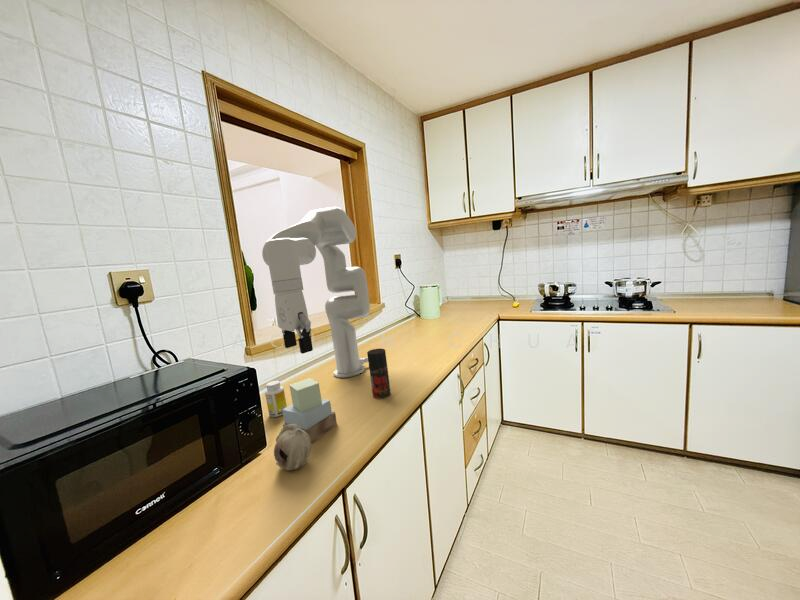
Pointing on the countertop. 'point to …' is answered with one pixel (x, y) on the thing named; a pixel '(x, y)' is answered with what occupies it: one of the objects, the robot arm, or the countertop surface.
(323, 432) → the walnut block
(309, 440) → the garlic bulb
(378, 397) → the deodorant
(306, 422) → the grey-blue block
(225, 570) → the countertop surface
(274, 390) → the supplement bottle
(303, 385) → the sage cube
